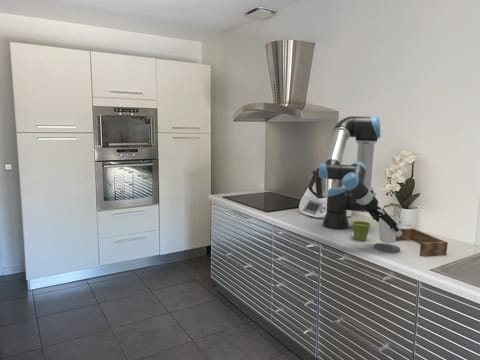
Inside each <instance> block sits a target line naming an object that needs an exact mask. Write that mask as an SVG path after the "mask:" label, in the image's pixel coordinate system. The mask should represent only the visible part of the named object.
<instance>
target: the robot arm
mask: <svg viewBox="0 0 480 360" xmlns="http://www.w3.org/2000/svg"><path fill="white" fill-rule="evenodd" d="M381 133H382V132H381V120H380V118H379V117H377V116H371V115H369V116H354V115H353V116H347V117H344V118H342V119H341V120H340V121H339V122H337V123H336V124H335V126H334V128H332V134H331V135H332V136H331V137H332V139H331V142H330V146H329V149H328V152H327V155H326V160H325V162H323V163H320V164H319V167H318V177H319V178H320V179H327V180H336V181H337V180H339V181H341V184H342V185H343V186H341V187H340V186H338V187H332V188H329V189H328V191H327V195H326V212H325V215H324V218H323V220H322V226H323V227H324V228H327V229H333V230H346V229H348V228H349V225H350V222H349V220H348V219H349V218H348V213H347V212H348V211H353V212H361V213H368V214H369V215H370V217H371V218H372V219H373V221H376V223H378V224H379V218H381V219H382V220H383V221H385V222H386V223H387V224H388V225H389V226H390V229H392V231H393V232H394V233H395V234H396V235H397V236H398V237H400V236H401V235H402V234H403V233H402V232H401V230H400V229H401V228H399V227H397V226H396V225H397V223H396V222H395V221H394V220H393V219H392V218H391V217H390V216H389V215H390V214H388V213H387V211H386V210H385V209H382V208H381V206H379V200H378V199H377V198H376V195H377V193H376V192H374V188H373V187H372V176H373V165H374V163H373V162H374V152H375V151H374V150H375V144H376V143H377V142H378V139H380V138H381ZM350 138H355V142H356V143H357V151H356V153H357V154H356V161H355V162H353V163H352V164H342V160H343V157H344V153H345V152H344V151H345V149H346V145H347V141H348V140H349V139H350Z"/></svg>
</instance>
